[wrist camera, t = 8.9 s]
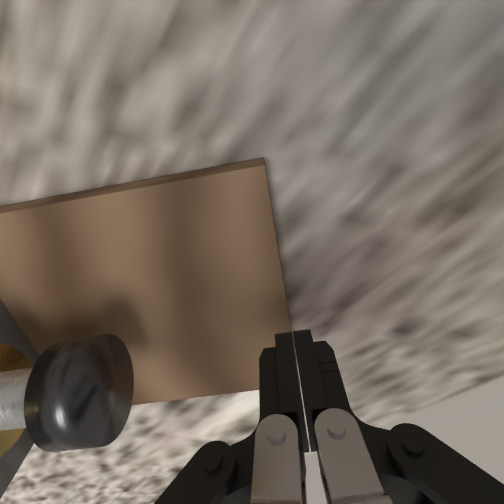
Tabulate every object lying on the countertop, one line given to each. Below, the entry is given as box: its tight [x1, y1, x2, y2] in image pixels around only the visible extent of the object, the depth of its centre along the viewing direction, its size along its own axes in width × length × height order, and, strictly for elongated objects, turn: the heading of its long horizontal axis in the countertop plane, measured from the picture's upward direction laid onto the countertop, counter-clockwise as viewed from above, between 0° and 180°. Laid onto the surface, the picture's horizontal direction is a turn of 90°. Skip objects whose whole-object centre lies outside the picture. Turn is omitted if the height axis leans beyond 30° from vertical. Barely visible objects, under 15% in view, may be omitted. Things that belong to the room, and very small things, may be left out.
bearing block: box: [0, 158, 300, 499], centre depth 15 cm, size 22×14×10 cm, turn 100°
